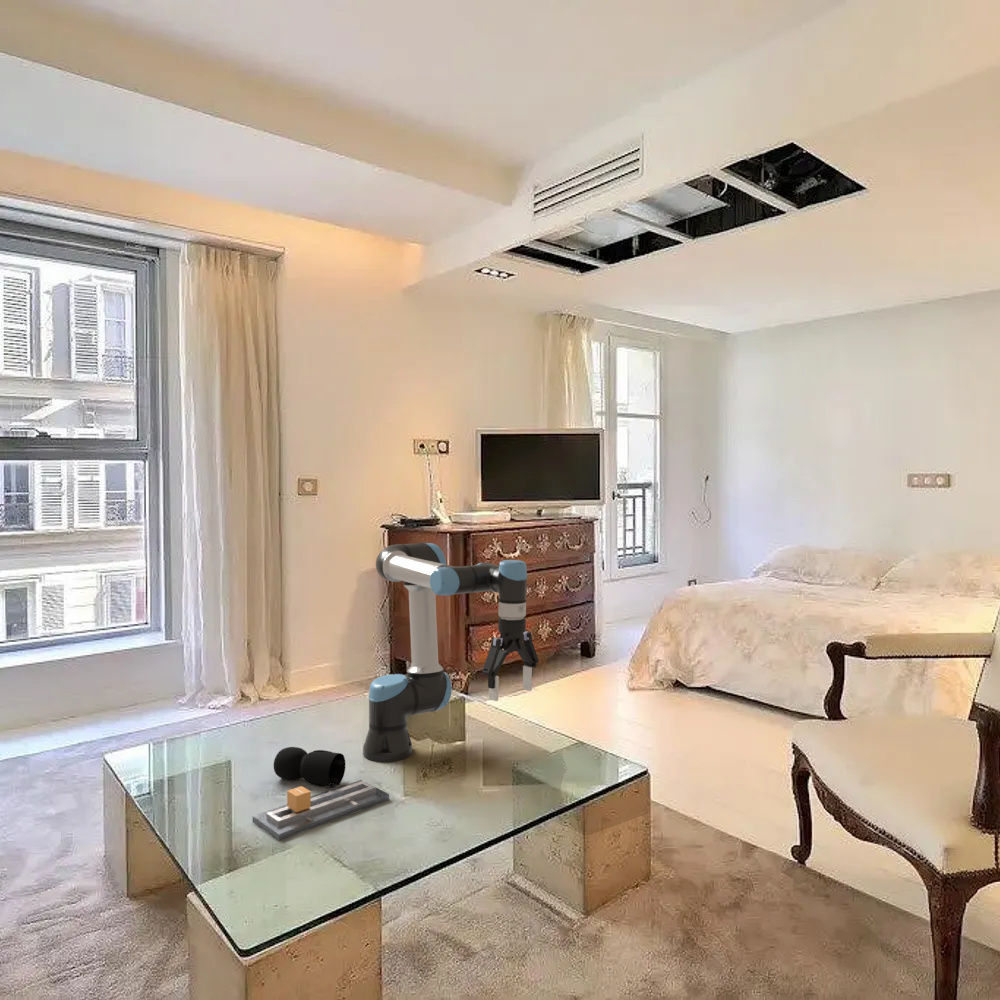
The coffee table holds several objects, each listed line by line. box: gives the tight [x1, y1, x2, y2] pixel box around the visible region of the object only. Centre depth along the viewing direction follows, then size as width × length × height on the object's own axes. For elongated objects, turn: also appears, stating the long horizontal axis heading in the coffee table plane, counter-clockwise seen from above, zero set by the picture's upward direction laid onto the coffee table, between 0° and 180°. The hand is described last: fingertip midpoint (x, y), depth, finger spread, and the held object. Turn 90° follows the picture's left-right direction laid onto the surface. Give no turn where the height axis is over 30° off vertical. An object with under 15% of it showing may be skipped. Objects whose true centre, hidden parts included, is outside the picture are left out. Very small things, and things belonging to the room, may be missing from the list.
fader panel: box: [252, 779, 390, 841], centre depth 189 cm, size 32×13×3 cm, turn 135°
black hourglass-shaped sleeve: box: [273, 746, 346, 789], centre depth 206 cm, size 9×9×20 cm
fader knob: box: [286, 785, 312, 813], centre depth 183 cm, size 4×4×5 cm
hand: (510, 694), depth 201 cm, fingers open, 13 cm apart
